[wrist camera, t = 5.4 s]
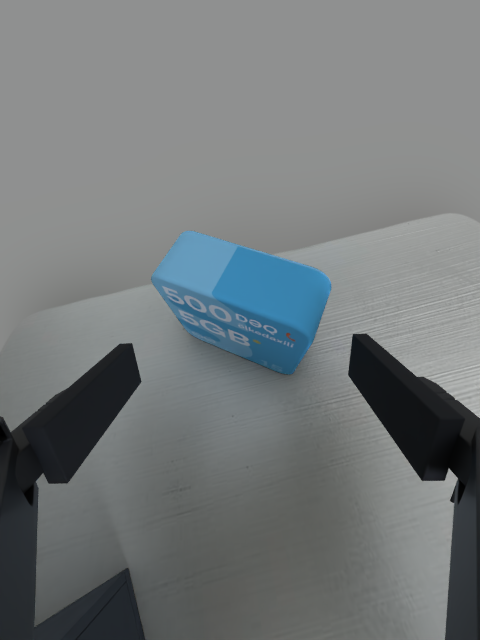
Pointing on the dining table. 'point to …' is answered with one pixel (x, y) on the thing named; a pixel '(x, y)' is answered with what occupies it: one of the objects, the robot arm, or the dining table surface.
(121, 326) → the dining table surface
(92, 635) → the dark grey open box
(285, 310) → the data package
